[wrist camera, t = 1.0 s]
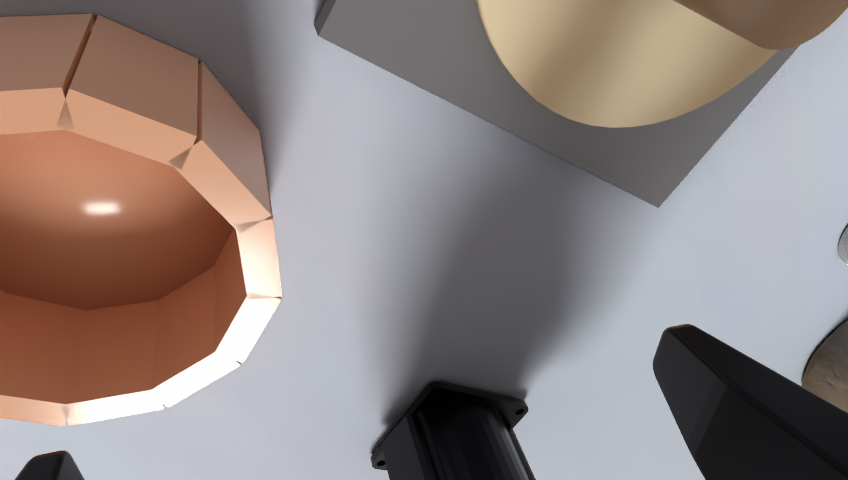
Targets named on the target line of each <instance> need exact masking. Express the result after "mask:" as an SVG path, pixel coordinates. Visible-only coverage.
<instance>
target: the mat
mask: <svg viewBox="0 0 848 480" xmlns="http://www.w3.org/2000/svg"><path fill="white" fill-rule="evenodd" d="M314 26H315V29H316V31H317V34H318V36H320V37H322V38H324V39H325V40H327V41H329V42H331V43H333V44H335V45H337V46H339V47H341V48H343V49H345V50H347V51H349V52H351V53H353V54H355V55H357V56H359V57H361V58H363V59H365V60H367V61H369V62H371V63H373V64H375V65H377V66H379V67H381V68H383V69H385V70H387V71H389V72H391V73H393V74H395V75H397V76H399V77H401V78H403V79H405V80H407V81H409V82H411V83H413V84H414V85H416V86H418V87H420V88H422V89H424V90H426V91H428V92H430V93H432V94H434V95H436V96H438V97H440V98H442V99H444V100H446V101H448V102H450V103H452V104H454V105H456V106H458V107H460V108H462V109H464V110H466V111H468V112H470V113H472V114H474V115H476V116H478V117H480V118H482V119H484V120H486V121H488V122H490V123H492V124H494V125H496V126H498V127H500V128H501V129H503V130H505V131H507V132H509V133H511V134H513V135H515V136H517V137H519V138H521V139H523V140H525V141H527V142H529V143H531V144H533V145H535V146H537V147H539V148H541V149H543V150H545V151H547V152H549V153H551V154H553V155H555V156H557V157H559V158H561V159H563V160H565V161H567V162H569V163H571V164H573V165H575V166H577V167H579V168H581V169H583V170H585V171H587V172H589V173H590V174H592V175H594V176H596V177H598V178H600V179H602V180H604V181H606V182H608V183H610V184H612V185H614V186H616V187H618V188H620V189H622V190H624V191H626V192H628V193H630V194H632V195H634V196H636V197H638V198H640V199H642V200H644V201H646V202H648V203H650V204H652V205H654V206H656V207H658V208H659V207H660V205H661V204H662V203H663V202H664V201H665V200H666V199H667V197H668V196H669V195H670V194H671V193H672V192H673V191H674V189H675V188H676V187H677V186H678V185H679V184H680V182H681V181H682V180H683V179H684V178H685V177H686V176H687V174H688V173H689V172H690V171H691V170H692V169H693V168H694V166H695V165H696V164H697V163H698V162H699V161H700V159H701V158H702V157H703V156H704V155H705V154H706V153H707V151H708V150H709V149H710V148H711V147H712V146H713V144H714V143H715V142H716V141H717V140H718V139H719V138H720V136H721V135H722V134H723V133H724V132H725V131H726V130H727V128H728V127H729V126H730V125H731V124H732V123H733V121H734V120H735V119H736V118H737V117H738V116H739V115H740V113H741V112H742V111H743V110H744V109H745V108H746V107H747V105H748V104H749V103H750V102H751V101H752V100H753V98H754V97H755V96H756V95H757V94H758V93H759V92H760V90H761V89H762V88H763V87H764V86H765V85H766V84H767V82H768V81H769V80H770V79H771V78H772V77H773V75H774V74H775V73H776V72H777V71H778V70H779V69H780V67H781V66H782V65H783V64H784V63H785V62H786V61H787V59H788V58H789V57H790V56H791V55H792V54H793V52H794V51H795V50H796V49H797V48H798V47H799V46H800V45H797V46H795V47H791V48H788V49H782V50H778V51H777V52H776V53H775V54H774V55H773V56H772V57H771V58H770V59H769V60H767V61H766V62H765V63H764V64H763V65H762V66H761V67H760V68H759V69H757V70H756V71H755V72H754V73H752V74H751V75H750V76H748V77H747V78H746V79H745V80H743V81H742V82H741V83H739V84H738V85H737V86H735V87H734V88H732V89H730V90H729V91H727V92H726V93H724V94H723V95H721V96H720V97H718V98H716V99H715V100H713V101H711V102H709V103H707V104H705V105H703V106H701V107H699V108H697V109H695V110H693V111H690V112H688V113H685V114H683V115H680V116H678V117H675V118H672V119H669V120H665V121H662V122H658V123H654V124H649V125H643V126H636V127H619V128H609V127H601V126H592V125H588V124H584V123H580V122H577V121H573V120H570V119H568V118H566V117H564V116H561V115H559V114H557V113H555V112H553V111H551V110H550V109H548V108H547V107H545V106H544V105H542V104H541V103H539V102H538V101H536V100H535V99H534V98H533V97H532V96H531V95H530V94H529V93H528V92H527V91H526V90H525V89H524V88H523V87H522V86H521V85H520V84H519V83H518V82H517V81H516V80H515V79H514V78H513V77H512V76H511V74H510V73H509V72H508V71H507V69H506V68H505V67H504V65H503V64H502V63H501V61H500V60H499V59H498V57H497V55H496V53H495V52H494V50H493V48H492V46H491V44H490V42H489V41H488V39H487V37H486V34H485V31H484V28H483V26H482V23H481V20H480V18H479V15H478V11H477V7H476V2H475V0H326V1H325V3H324V5H323V7H322V9H321V11H320V13H319V15H318V17H317V19H316V21H315V23H314Z"/></svg>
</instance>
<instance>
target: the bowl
mask: <svg viewBox="0 0 848 480" xmlns="http://www.w3.org/2000/svg"><path fill="white" fill-rule="evenodd" d="M281 296H282V289H281V280H280V272H279V264H278V255H277V247H276V239H275V231H274V222H273V215H272V208H271V201H270V195H269V188H268V181H267V174H266V167H265V160H264V154H263V147H262V140H261V134H259V129H258V128H257V127H256V126H255V125H254V123H253V122H252V121H251V120H250V119H249V117H248V116H247V115H246V114H245V113H244V111H243V110H242V109H241V108H240V106H239V105H238V104H237V103H236V102H235V100H234V99H233V98H232V97H231V96H230V94H229V93H228V92H227V91H226V90H225V88H224V87H223V86H222V85H221V83H220V82H219V81H218V80H217V79H216V77H215V76H214V75H213V74H212V73H211V71H210V70H209V69H208V68H207V67H206V65H205V64H204V63H203V62H201V63H199V64H198V58H196V57H194V56H192V55H189V54H187V53H185V52H182V51H180V50H178V49H176V48H173V47H171V46H169V45H166V44H164V43H162V42H160V41H157V40H155V39H153V38H150V37H148V36H146V35H144V34H141V33H139V32H137V31H135V30H132V29H130V28H128V27H125V26H123V25H121V24H119V23H116V22H114V21H112V20H109V19H107V18H105V17H103V16H100V15H98V17H97V19H96V20H94V17H93V13H92V14H64V15H37V16H10V17H0V418H3V419H11V420H19V421H27V422H35V423H43V424H51V425H58V426H64V424H65V422H66V421H67V423H68V425H69V426H72V425H78V424H83V423H89V422H94V421H100V420H106V419H111V418H117V417H123V416H128V415H134V414H139V413H145V412H151V411H156V410H162V409H164V406H167V407H170V406H172V405H174V404H176V403H177V402H179V401H181V400H182V399H184V398H186V397H187V396H189V395H191V394H193V393H194V392H196V391H198V390H199V389H201V388H203V387H204V386H206V385H208V384H210V383H211V382H213V381H215V380H216V379H218V378H220V377H221V376H223V375H225V374H227V373H228V372H230V371H232V370H233V369H235V368H237V367H238V366H240V365H241V362H244V361H245V359H246V358H247V356H248V354H249V353H250V351H251V349H252V348H253V346H254V344H255V343H256V341H257V339H258V338H259V336H260V334H261V333H262V331H263V329H264V328H265V326H266V324H267V323H268V321H269V320H270V318H271V316H272V315H273V313H274V311H275V310H276V308H277V306H278V305H279V303H280V301H281V300H282V299H281Z"/></svg>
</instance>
